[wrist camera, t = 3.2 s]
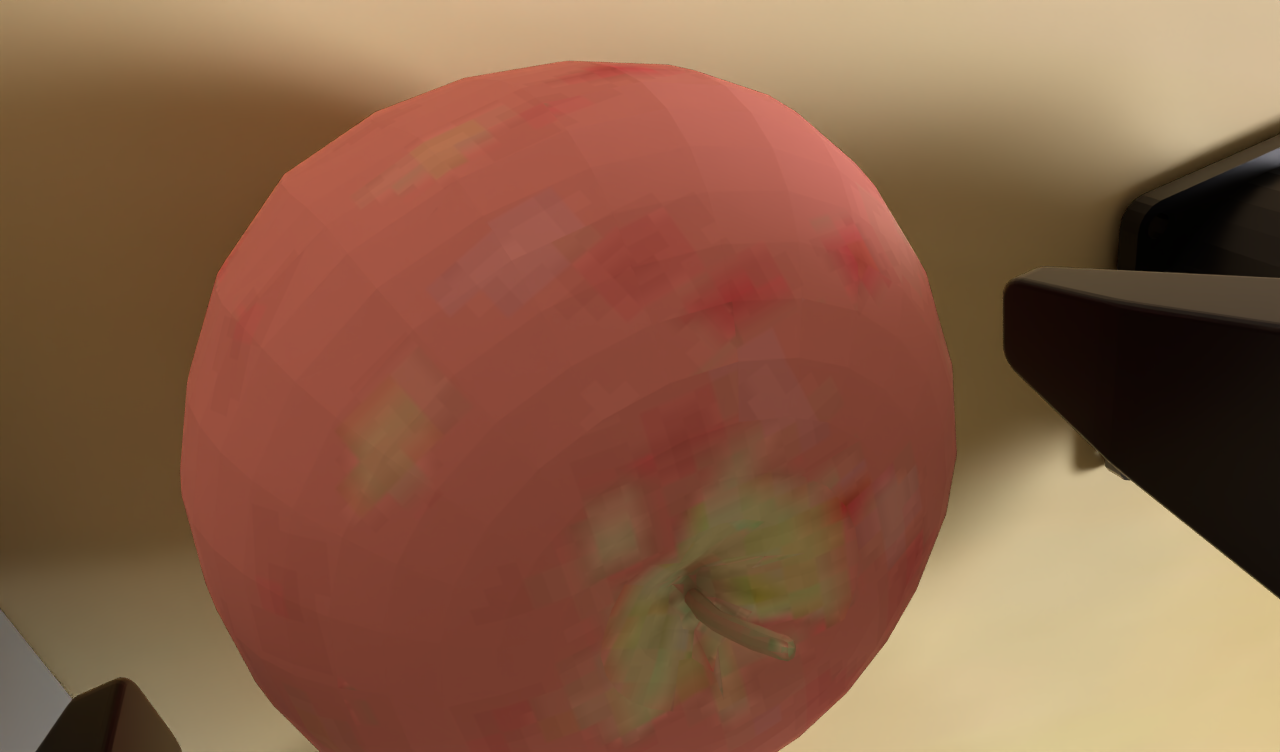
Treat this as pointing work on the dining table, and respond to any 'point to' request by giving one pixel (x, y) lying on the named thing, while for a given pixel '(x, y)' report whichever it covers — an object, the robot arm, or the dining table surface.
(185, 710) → the dining table surface
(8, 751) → the dish
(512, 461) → the apple
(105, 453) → the dining table surface
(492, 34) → the dining table surface
